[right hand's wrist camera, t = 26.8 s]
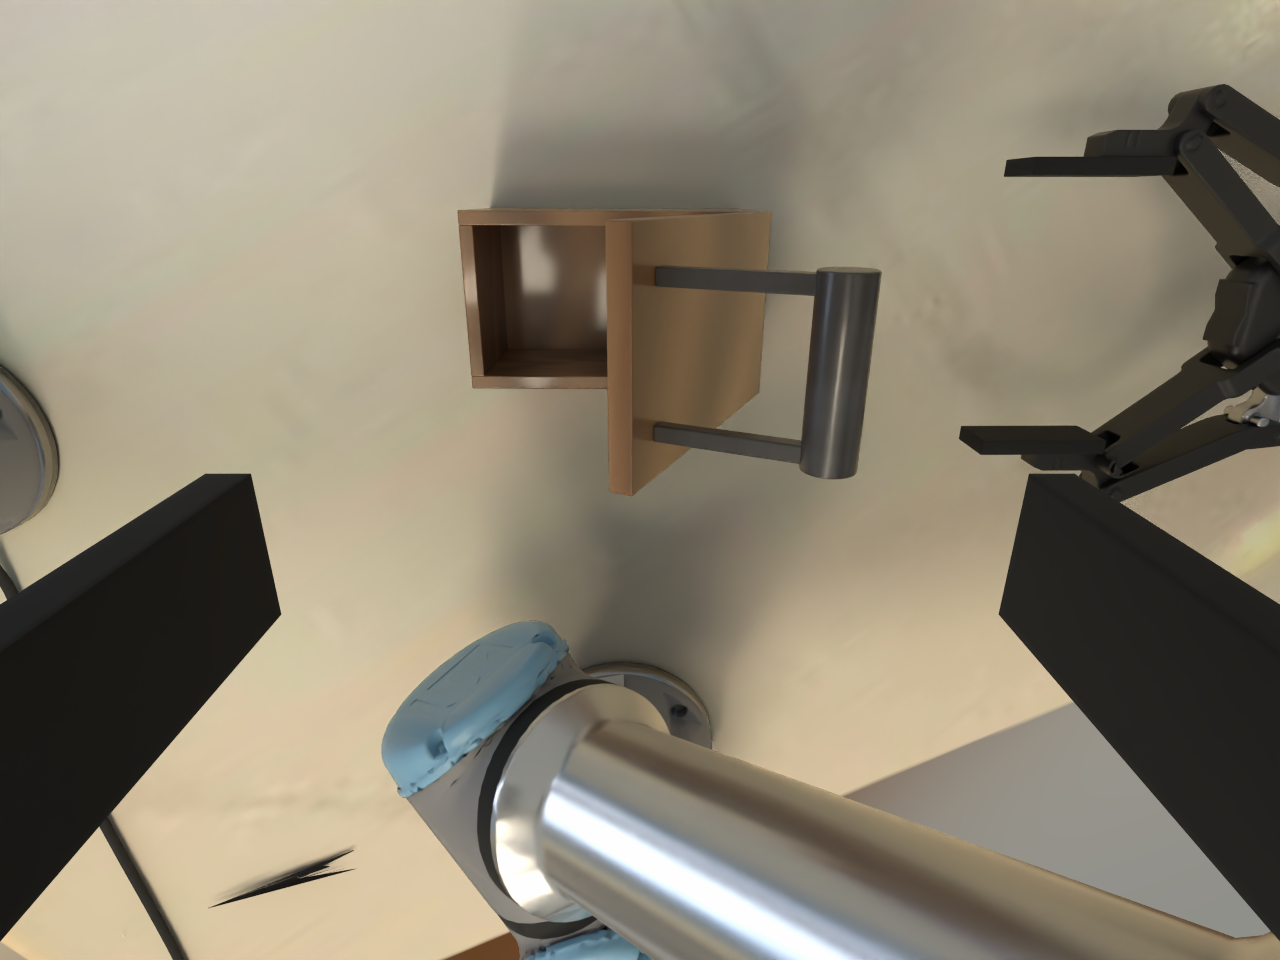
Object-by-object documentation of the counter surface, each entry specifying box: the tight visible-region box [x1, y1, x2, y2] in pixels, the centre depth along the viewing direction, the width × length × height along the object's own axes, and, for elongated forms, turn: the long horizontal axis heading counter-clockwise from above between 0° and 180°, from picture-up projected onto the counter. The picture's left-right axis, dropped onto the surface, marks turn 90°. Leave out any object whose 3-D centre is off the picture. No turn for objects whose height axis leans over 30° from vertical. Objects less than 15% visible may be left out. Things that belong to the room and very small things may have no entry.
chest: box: [458, 208, 759, 389], centre depth 44 cm, size 16×10×9 cm, turn 90°
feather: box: [123, 850, 354, 937], centre depth 69 cm, size 2×28×2 cm
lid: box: [606, 212, 882, 496], centre depth 31 cm, size 17×10×9 cm
